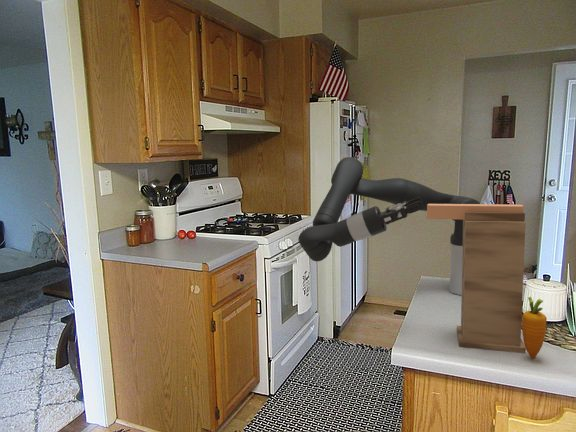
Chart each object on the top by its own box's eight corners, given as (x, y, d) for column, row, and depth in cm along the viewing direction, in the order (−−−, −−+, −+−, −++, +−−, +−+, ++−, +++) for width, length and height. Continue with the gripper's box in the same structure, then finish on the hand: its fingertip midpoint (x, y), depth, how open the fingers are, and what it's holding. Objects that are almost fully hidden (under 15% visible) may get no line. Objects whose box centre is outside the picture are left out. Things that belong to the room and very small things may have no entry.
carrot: (519, 352, 104) (521, 293, 102) (542, 355, 103) (545, 294, 100) (522, 361, 100) (524, 299, 98) (546, 364, 98) (549, 301, 96)
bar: (428, 216, 114) (428, 203, 114) (521, 218, 106) (521, 204, 105) (426, 218, 111) (427, 205, 111) (522, 220, 103) (523, 206, 102)
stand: (456, 329, 119) (459, 208, 114) (517, 334, 114) (522, 208, 109) (459, 346, 109) (461, 214, 104) (525, 353, 104) (531, 214, 99)
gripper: (357, 215, 114) (416, 192, 109) (363, 208, 128) (416, 187, 122) (368, 241, 114) (428, 219, 109) (373, 231, 128) (426, 211, 123)
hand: (421, 202), depth 116 cm, fingers open, 8 cm apart
